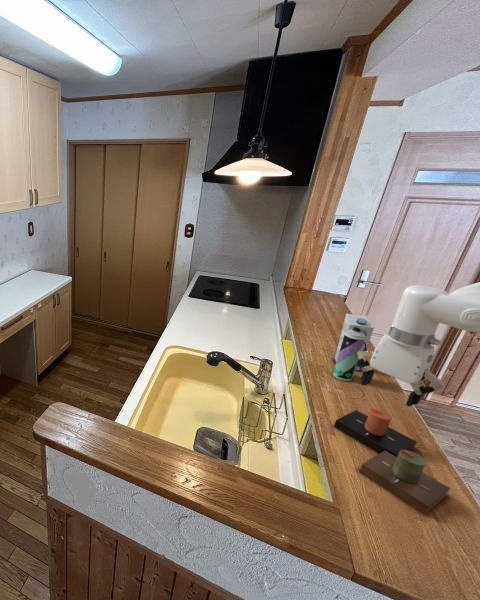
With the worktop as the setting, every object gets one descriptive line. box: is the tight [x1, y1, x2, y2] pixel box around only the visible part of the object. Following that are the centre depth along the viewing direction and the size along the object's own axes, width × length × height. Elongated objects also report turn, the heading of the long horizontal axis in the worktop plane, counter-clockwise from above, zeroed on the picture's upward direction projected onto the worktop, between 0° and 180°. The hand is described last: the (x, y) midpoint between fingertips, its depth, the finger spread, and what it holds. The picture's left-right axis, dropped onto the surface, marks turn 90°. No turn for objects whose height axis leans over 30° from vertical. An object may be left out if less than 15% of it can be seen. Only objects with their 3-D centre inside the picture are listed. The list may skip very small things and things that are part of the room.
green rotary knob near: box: [392, 450, 427, 483], centre depth 74 cm, size 4×4×6 cm
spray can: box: [332, 326, 365, 382], centre depth 114 cm, size 6×6×20 cm
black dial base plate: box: [333, 409, 417, 457], centre depth 89 cm, size 14×10×3 cm
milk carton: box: [333, 313, 375, 372], centre depth 121 cm, size 7×7×20 cm
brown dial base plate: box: [359, 451, 451, 515], centre depth 76 cm, size 12×10×3 cm
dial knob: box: [364, 407, 393, 436], centre depth 88 cm, size 4×4×6 cm
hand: (386, 393), depth 85 cm, fingers open, 9 cm apart
